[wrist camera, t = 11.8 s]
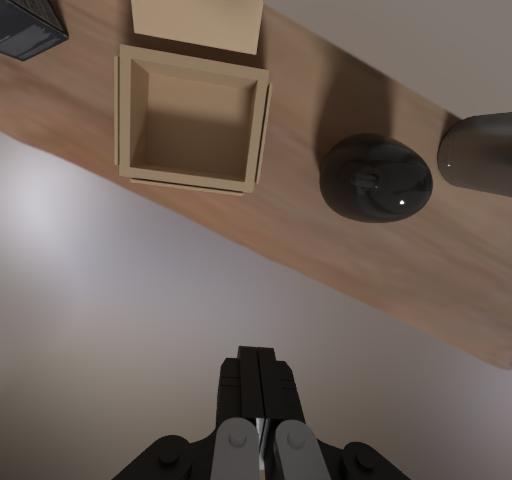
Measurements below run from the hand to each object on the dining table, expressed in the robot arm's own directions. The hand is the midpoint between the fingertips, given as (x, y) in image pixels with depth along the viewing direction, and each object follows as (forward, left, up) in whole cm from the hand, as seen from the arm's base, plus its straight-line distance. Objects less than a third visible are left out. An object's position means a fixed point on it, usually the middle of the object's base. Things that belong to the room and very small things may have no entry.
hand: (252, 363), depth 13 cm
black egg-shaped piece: (-14, -7, -29) cm, 33 cm away
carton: (+6, -10, -29) cm, 31 cm away
